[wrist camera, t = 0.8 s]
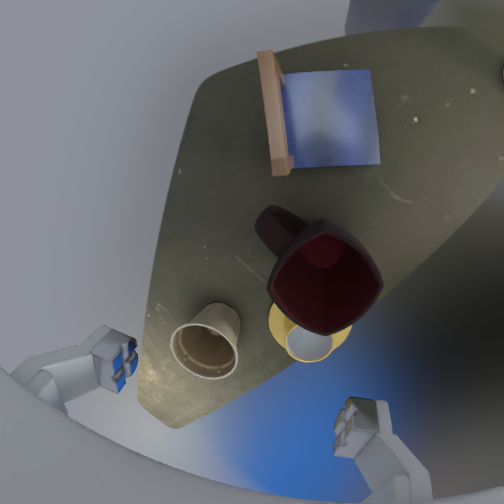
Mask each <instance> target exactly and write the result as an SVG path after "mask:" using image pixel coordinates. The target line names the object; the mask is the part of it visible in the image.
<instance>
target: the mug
mask: <svg viewBox="0 0 504 504" xmlns="http://www.w3.org/2000/svg"><path fill="white" fill-rule="evenodd" d="M255 230H256V232H257V234H258V236H259V237H260V239H261V240H262V241H263V242H264V244H265V245H266V246H267V247H268V248H269V249H270V250H271V251H272V252H273V253H274V254H275V255H276V256H277V257H278V258H279V259H278V261H277V262H276V264H275V266H274V268H273V270H272V273H271V275H270V278H269V281H268V284H267V291H268V293H269V295H270V297H271V298H272V300H273V302H274V303H275V304H276V306H277V307H278V308H279V309H280V311H281V312H282V313H283V314H284V315H285V316H286V317H287V318H289V319H290V320H291V321H292V322H294V323H295V324H297V325H298V326H300V327H302V328H303V329H305V330H307V331H309V332H312V333H315V334H318V335H321V336H329V335H332V334H335V333H337V332H340V331H342V330H344V329H346V328H347V327H349V326H351V325H352V324H354V323H355V322H356V321H358V320H359V319H360V318H361V317H362V316H363V315H364V314H365V313H367V311H368V310H369V309H370V308H371V307H372V306H373V304H374V303H375V301H376V300H377V298H378V296H379V295H380V293H381V291H382V289H383V286H384V283H383V280H382V277H381V274H380V272H379V270H378V267H377V266H376V264H375V262H374V260H373V259H372V257H371V256H370V254H369V253H368V252H367V250H366V249H365V248H364V246H363V245H362V244H361V243H360V242H359V241H358V240H357V239H356V238H355V237H354V236H353V235H351V234H350V233H349V232H347V231H346V230H344V229H343V228H341V227H340V226H338V225H336V224H334V223H332V222H329V221H326V220H323V219H322V220H320V221H317V222H315V223H313V224H312V225H310V226H309V225H308V224H307V223H305V222H304V221H303V220H301V219H300V218H298V217H297V216H295V215H294V214H292V213H291V212H289V211H287V210H285V209H283V208H281V207H279V206H275V205H271V206H269V207H267V208H266V209H265V210H264V211H263V212H261V214H260V215H259V217H258V218H257V220H256V223H255Z"/></svg>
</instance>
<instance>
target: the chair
mask: <svg viewBox="0 0 504 504" xmlns="http://www.w3.org/2000/svg"><path fill="white" fill-rule="evenodd" d="M257 58H258V65H259V72H260V80H261V87H262V95H263V102H264V110H265V118H266V127H267V135H268V143H269V152H270V161H271V170H272V176H285V175H288V174H289V173H290V170H291V169H298V168H312V167H330V166H352V165H381V156H380V144H379V134H378V124H377V115H376V107H375V100H374V93H373V87H372V80H371V74H370V70H327V71H311V72H299V73H288V74H283V73H282V71H281V69H280V67H279V65H278V63H277V60H276V57H275V55H274V53H273V51H272V50H269V51H262V52H257Z"/></svg>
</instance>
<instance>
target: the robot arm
mask: <svg viewBox="0 0 504 504" xmlns="http://www.w3.org/2000/svg"><path fill="white" fill-rule="evenodd" d="M136 347H137V342H136V339H134V338H132V337H130V336H128V335H126V334H123V333H121V332H119V331H116V330H114V329H112V328H109V327H107V326H105V325H102V326H100V327H99V328H98V329H96V331H94V332H93V333H92V334H91V335H90V336H89V337H88V338H87V339H86V340H85V341H84V342H83V343H82V344H81V345H80V346H79V347H78V346H72V347H68V348H64V349H60V350H56V351H53V352H49V353H45V354H41V355H37V356H33V357H29V358H27V359H26V360H25V361H24V362H23V363H22V364H21V365H20V366H19V367H18V368H17V369H15V370H14V371H13V372H12V373H11V374H8V373H7V372H6V371H5V370H4V369H2V368H1V367H0V504H504V487H503V486H499V487H494V488H490V489H486V490H482V491H478V492H473V493H469V494H464V495H458V496H452V497H446V498H439V499H433V496H432V488H431V482H430V474H429V472H428V471H427V470H426V469H425V468H424V466H423V465H422V464H421V463H420V462H419V460H418V459H417V458H416V457H415V456H414V455H413V454H412V452H411V451H410V450H409V449H408V448H407V447H406V445H405V444H404V443H403V442H402V441H401V440H400V439H399V438H398V436H397V435H396V434H393V432H392V425H391V419H390V414H389V407H388V403H387V401H381V400H372V399H364V398H357V397H349V398H347V400H346V402H345V408H344V409H341V410H340V411H339V413H338V415H337V417H336V420H335V425H334V433H335V435H336V436H337V438H336V439H335V441H334V447H333V448H334V449H333V456H340V457H346V458H354V461H355V463H356V464H357V466H358V468H359V469H360V471H361V473H362V475H363V477H364V478H365V480H366V482H367V483H368V485H369V487H370V489H371V490H372V492H373V494H371V495H370V496H369V497H367V498H366V499H365V500H363V501H362V502H361V503H341V502H340V503H339V502H326V501H315V500H306V499H298V498H291V497H285V496H279V495H273V494H267V493H262V492H258V491H253V490H248V489H244V488H240V487H236V486H232V485H228V484H224V483H220V482H217V481H213V480H210V479H207V478H203V477H200V476H197V475H194V474H191V473H188V472H185V471H182V470H179V469H177V468H174V467H171V466H169V465H166V464H163V463H161V462H158V461H156V460H153V459H151V458H149V457H146V456H144V455H141V454H139V453H137V452H135V451H132V450H130V449H128V448H126V447H124V446H122V445H120V444H118V443H116V442H114V441H112V440H110V439H108V438H106V437H104V436H102V435H100V434H98V433H96V432H95V431H93V430H91V429H89V428H87V427H86V426H84V425H82V424H80V423H79V422H77V421H75V420H74V419H72V418H70V417H69V416H68V412H67V409H66V407H65V405H64V403H65V402H68V401H70V400H72V399H74V398H77V397H79V396H81V395H83V394H85V393H87V392H90V391H92V390H94V389H96V388H98V387H100V386H101V387H103V388H106V389H108V390H110V391H112V392H115V393H117V394H118V393H119V392H120V390H121V389H122V388H123V386H124V385H125V384H126V381H125V378H126V377H129V376H131V375H132V374H133V373H134V371H135V369H136V367H137V363H138V355H137V353H136V351H135V350H134V349H135V348H136Z"/></svg>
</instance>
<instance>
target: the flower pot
mask: <svg viewBox="0 0 504 504" xmlns="http://www.w3.org/2000/svg"><path fill="white" fill-rule="evenodd" d="M239 330H240V318H239V315H238V314H237V312H236V311H235V310H234V309H233V308H231V307H229V306H227V305H225V304H223V303H212V304H209V305H207V306H206V307H205V308H204V309H203V310H202V311H201V312H200V313H199V314H198V315H197V316H196V317H195V318H193V319H192V320H191V321H190V322H188V323H186V324H183V325H181V326H179V327H178V328H177V329H176V330H175V331H174V332H173V334H172V336H171V339H170V347H171V351H172V353H173V356H174V357H175V359H176V360H177V361H178V363H179V364H180V365H181V366H182V367H183V368H184V369H186V370H187V371H189V372H190V373H192V374H194V375H196V376H198V377H201V378H205V379H221V378H224V377H227V376H229V375H230V374H231V373H233V372H234V370H235V369H236V367H237V364H238V352H237V347H236V346H237V341H238V335H239Z"/></svg>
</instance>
